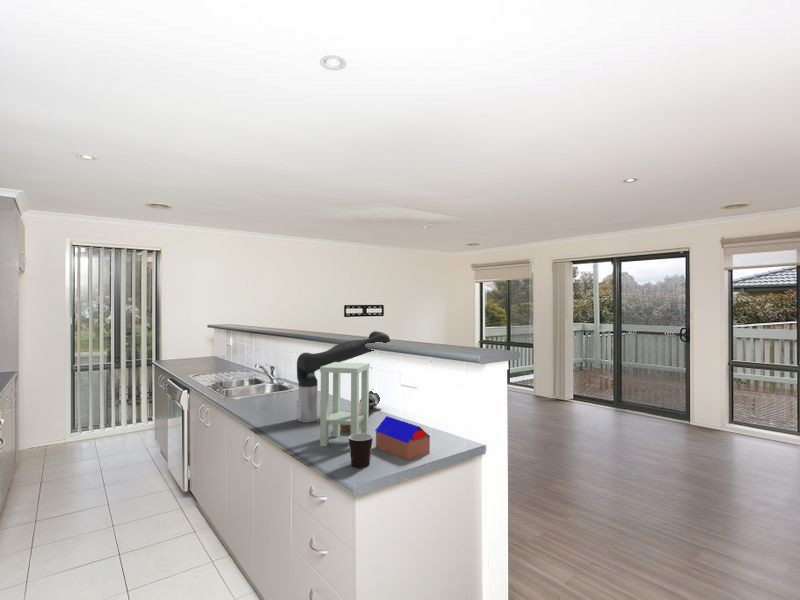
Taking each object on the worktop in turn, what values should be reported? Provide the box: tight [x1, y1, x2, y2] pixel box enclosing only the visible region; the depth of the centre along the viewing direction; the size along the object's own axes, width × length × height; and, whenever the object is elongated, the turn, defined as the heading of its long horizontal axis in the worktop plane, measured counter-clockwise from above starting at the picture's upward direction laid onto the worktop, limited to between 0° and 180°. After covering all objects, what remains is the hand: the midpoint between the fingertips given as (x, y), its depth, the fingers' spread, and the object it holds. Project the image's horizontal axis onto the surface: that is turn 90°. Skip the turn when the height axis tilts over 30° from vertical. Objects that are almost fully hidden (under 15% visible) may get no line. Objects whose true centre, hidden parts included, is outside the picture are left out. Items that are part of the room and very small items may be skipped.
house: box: [374, 416, 431, 461], centre depth 169 cm, size 12×20×12 cm, turn 40°
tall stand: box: [319, 361, 371, 448], centre depth 178 cm, size 16×16×32 cm
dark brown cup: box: [348, 432, 374, 469], centre depth 154 cm, size 12×9×10 cm
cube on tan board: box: [340, 401, 361, 433], centre depth 201 cm, size 8×20×6 cm, turn 167°
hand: (358, 409), depth 204 cm, fingers closed on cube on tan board, 2 cm apart
